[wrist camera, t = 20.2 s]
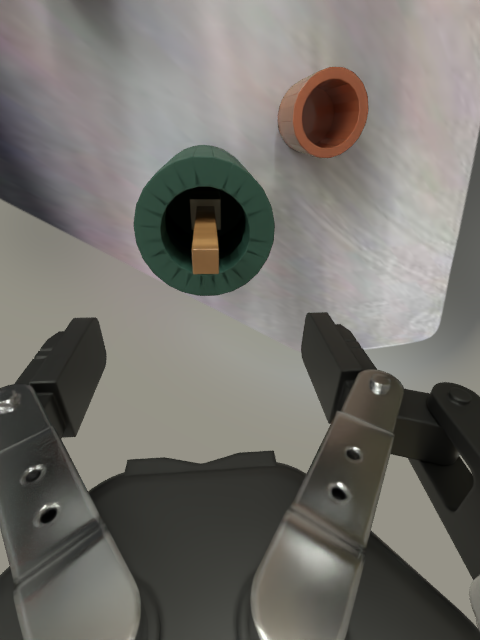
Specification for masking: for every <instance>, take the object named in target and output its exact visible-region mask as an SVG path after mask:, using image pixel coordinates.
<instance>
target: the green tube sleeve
mask: <svg viewBox="0 0 480 640" xmlns="http://www.w3.org/2000/svg"><path fill="white" fill-rule="evenodd" d="M195 187H213V188H217V189H219V193H220V198H221V230H217V237H218V247H219V274H193V266H192V242H193V234H194V230H192V229H191V214H190V196H191V192H192V188H195ZM274 224H275V223H274V218H273V212H272V207H271V204H270V202H269V200H268V198H267V196H266V194H265V192H264V190H263V188H262V187H261V186H260V185H259V184H258V182H257V181H256V180H255V179H254V178H253V177H252V175H251V174H250V173H249V172H248V171H247V170H246V169H245V168H244V167H243V166H242V165H241V164H240V162H239V161H238V160H237V159H236V158H235V157H234V156H232V155H231V154H229V153H228V152H226V151H225V150H223V149H220V148H218V147H214V146H208V145H198V146H193V147H190V148H187V149H184V150H183V151H181V152H180V153H178V154H177V155H175V156H174V157H173V158H172V159H171V160H170V161H168V162H167V163H166V164H165V165H164V166H163V167H162V168H161V169H160V170H159V171H158V172H157V173H156V174H155V175H154V176H153V177H152V178H151V180H150V181H149V182H148V183H147V184H146V186H145V187H144V188H143V190H142V193H141V195H140V197H139V200H138V202H137V204H136V209H135V217H134V231H135V238H136V243H137V246H138V248H139V251H140V253H141V255H142V258H143V260H144V261H145V262H146V264H147V265H148V266H149V268H150V269H151V270H152V272H153V273H154V274H155V275H156V276H158V277H159V278H160V279H161V280H163V281H164V282H165V283H166V284H168V285H169V286H171V287H173V288H175V289H177V290H179V291H182V292H185V293H189V294H194V295H200V296H212V295H220V294H224V293H228V292H231V291H234V290H235V289H237V288H239V287H241V286H243V285H245V284H246V283H248V282H249V281H250V280H251V279H252V278H253V277H254V276H255V275H256V274H257V273H258V272H259V271H260V269H261V268H262V266H263V265H264V263H265V262H266V260H267V258H268V256H269V253H270V250H271V247H272V245H273V241H274V228H275V225H274Z"/></svg>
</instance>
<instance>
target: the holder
mask: <svg viewBox="0 0 480 640" xmlns="http://www.w3.org/2000/svg"><path fill="white" fill-rule="evenodd" d="M367 114H368V96H367V92H366V90H365V87H364V84H363V83H362V81H361V80H360V79H359V78H358V77H357V75H356V74H354V72H352V71H350V70H348V69H346V68H343V67H329V68H326V69H324V70H321V71H318V72H316V73H314V74H312V75H310V76H308V77H306V78H304V79H302V80H300V81H298V82H297V83H296V84H294V85H293V86H292V87H291V88H290V89H289V90H288V91H287V93H286V94H285V96H284V97H283V99H282V101H281V104H280V107H279V111H278V127H279V131H280V134H281V136H282V138H283V140H284V142H285V143H286V144H287V145H288V146H289V147H290V148H292V149H293V150H295V151H298V152H301V153H304V154H308V155H311V156H315V157H319V158H331V157H334V156H337V155H340V154H342V153H343V152H345V151H346V150H347V149H349V148H350V147H351V146H352V145H353V144H354V143H355V142H356V140H357V139H358V138H359V136H360V135H361V132H362V130H363V128H364V126H365V123H366V120H367Z"/></svg>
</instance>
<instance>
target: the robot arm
mask: <svg viewBox="0 0 480 640" xmlns="http://www.w3.org/2000/svg"><path fill="white" fill-rule="evenodd" d="M301 353H302V358H303V362H304V364H305V367H306V369H307V372H308V374H309V376H310V379H311V381H312V384H313V386H314V388H315V391H316V393H317V396H318V398H319V401H320V403H321V406H322V408H323V411H324V413H325V416H326V418H327V420H328V423H329V424H330V423H331V425H330V427H329V429H328V431H327V433H326V435H325V437H324V439H323V441H322V443H321V445H320V447H319V449H318V451H317V454H316V456H315V458H314V460H313V462H312V464H311V466H310V468H309V470H308V472H307V474H306V473H304V472H302V471H300V470H298V469H297V468H294V467H292V466H289V465H286V464H282V463H278V462H276V459H275V455H274V451H262V452H261V451H260V452H245V453H237V454H233V455H230V456H227V457H224V458H220V459H217V460H214V461H210V462H207V463H203V464H199V463H193V462H187V461H182V460H176V459H170V458H148V459H133V460H127V465H126V469H125V472H124V473H121V474H118V475H116V476H113V477H111V478H109V479H107V480H105V481H103V482H101V483H100V484H98V485H97V486H95V487H94V488H92V489H91V490H90V491H87V489H86V487H85V485H84V483H83V481H82V479H81V477H80V475H79V473H78V471H77V469H76V468H75V466H74V464H73V462H72V460H71V458H70V456H69V454H68V452H67V450H66V448H65V446H64V444H63V442H62V440H61V438H62V437H76V435H77V432H78V430H79V428H80V425H81V423H82V421H83V418H84V416H85V413H86V411H87V409H88V406H89V404H90V402H91V399H92V397H93V394H94V392H95V390H96V387H97V385H98V382H99V380H100V378H101V376H102V373H103V371H104V368H105V365H106V350H105V346H104V341H103V337H102V333H101V329H100V325H99V321H98V320H97V318H74V319H73V320H72V321H71V322H70V324H69V325H68V327H67V328H66V330H65V331H62V332H58V333H56V334H55V335H53V336H52V337H51V338H49V339H48V340H47V341H46V342H45V344H44V345H43V346H42V347H41V349H40V351H38V353H37V354H36V355H35V358H34V359H33V360H32V361H31V362H30V364H29V365H28V366H27V368H26V369H25V370H24V372H23V373H22V374H21V376H20V377H19V378H18V380H17V381H16V382H15V384H13V385H8V386H5V387H2V388H0V529H1V533H2V537H3V541H4V545H5V549H6V553H7V557H8V561H9V565H10V566H9V567H8V568H7V569H6V570H5V571H4V572H3V573H2V574H1V575H0V640H480V397H479V396H478V395H477V394H476V393H474V392H473V391H471V390H469V389H467V388H465V387H463V386H461V385H458V384H454V383H447V382H444V383H438V384H436V385H435V386H434V387H433V389H432V391H431V393H430V394H429V393H424V392H418V391H413V390H408V389H404V387H403V385H402V384H401V382H400V381H399V380H398V379H396V378H395V377H394V376H392V375H390V374H389V373H386V372H384V371H380V370H377V369H376V367H375V366H374V364H373V363H372V362H371V360H370V359H369V357H368V356H367V354H366V353H365V352H364V350H363V349H362V348H361V346H360V344H359V343H358V341H356V338H355V337H354V336H353V334H352V333H351V331H349V330H348V329H346V328H345V327H344V326H342V325H341V324H335V323H334V322H333V320H332V319H331V317H330V316H329V314H328V313H327V312H322V313H307V315H306V319H305V325H304V332H303V339H302V345H301ZM390 454H393V455H398V456H402V457H406V458H408V459H409V461H410V463H411V465H412V467H413V468H414V470H415V472H416V474H417V476H418V478H419V480H420V481H421V483H422V485H423V487H424V489H425V491H426V492H427V495H428V496H429V498H430V500H431V502H432V503H433V506H434V508H435V509H436V511H437V513H438V515H439V517H440V518H441V521H442V522H443V524H444V526H445V528H446V530H447V532H448V534H449V535H450V537H451V539H452V541H453V543H454V545H455V547H456V548H457V550H458V552H459V554H460V556H461V558H462V560H463V562H464V563H465V565H466V567H467V569H468V571H469V573H470V575H471V576H472V578H473V582H472V583H471V586H470V591H469V596H470V602H471V606H472V609H473V611H474V614H475V617H476V624H477V627H478V628H477V627H476V626H475V625H474V624H473V623H472V622H471V621H470V620H469V619H468V618H467V617H466V616H465V615H464V614H463V613H462V612H461V611H460V610H459V609H458V608H457V607H456V606H455V605H453V604H452V603H451V602H450V601H449V600H448V599H447V598H446V597H445V596H443V595H442V594H441V593H440V592H439V591H438V590H437V589H436V588H434V587H433V586H432V585H431V584H430V583H429V582H428V581H427V580H426V579H424V578H423V577H422V576H421V575H420V574H418V572H417V571H416V570H414V569H413V568H412V567H411V566H410V565H408V563H407V562H406V561H404V560H403V559H402V558H401V557H400V556H399V555H398V554H396V552H394V551H393V550H392V549H391V548H390V547H389V546H388V545H387V544H385V543H384V542H383V541H382V540H381V539H380V538H379V537H378V536H377V535H375V534H374V533H373V532H372V531H371V527H372V523H373V519H374V515H375V511H376V507H377V504H378V500H379V496H380V492H381V488H382V484H383V480H384V476H385V472H386V468H387V465H388V460H389V457H390ZM459 455H461V456H462V458H463V459H464V460H465V462H466V463H467V465H468V466H469V468H470V469H471V472H472V474H471V472H470V471H469V470H468V468H467V467H466V465H465V464H464V463H463V461H462V459H461V458H460V457H459Z"/></svg>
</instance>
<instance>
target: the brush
mask: <svg viewBox="0 0 480 640" xmlns="http://www.w3.org/2000/svg"><path fill="white" fill-rule="evenodd" d="M190 214H191V229H192V230H194V234H193V242H192V266H193V274H219V247H218V237H217V230H221V198H220V193H219V189H217V188H213V187H195V188H192V192H191V196H190Z"/></svg>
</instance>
